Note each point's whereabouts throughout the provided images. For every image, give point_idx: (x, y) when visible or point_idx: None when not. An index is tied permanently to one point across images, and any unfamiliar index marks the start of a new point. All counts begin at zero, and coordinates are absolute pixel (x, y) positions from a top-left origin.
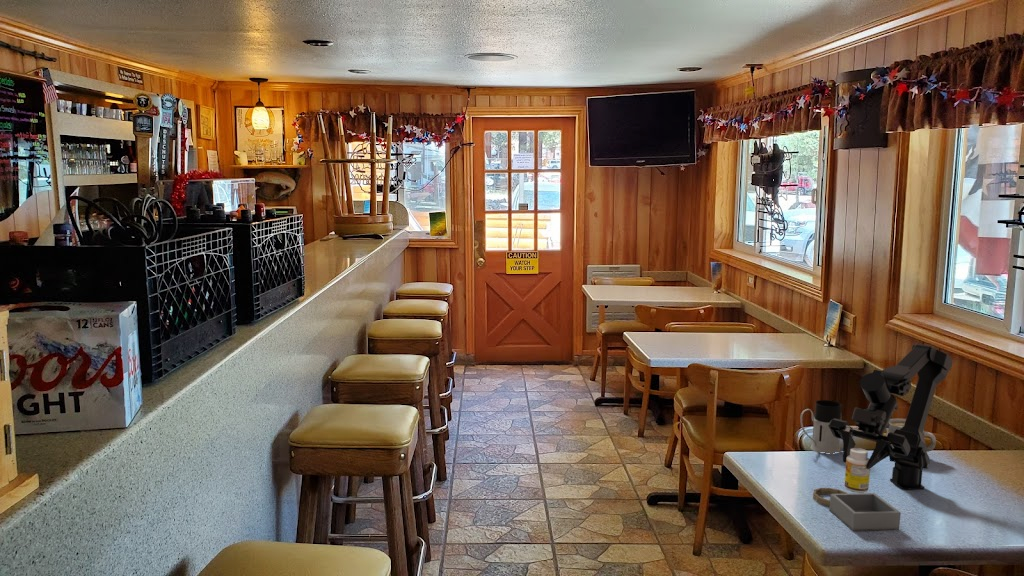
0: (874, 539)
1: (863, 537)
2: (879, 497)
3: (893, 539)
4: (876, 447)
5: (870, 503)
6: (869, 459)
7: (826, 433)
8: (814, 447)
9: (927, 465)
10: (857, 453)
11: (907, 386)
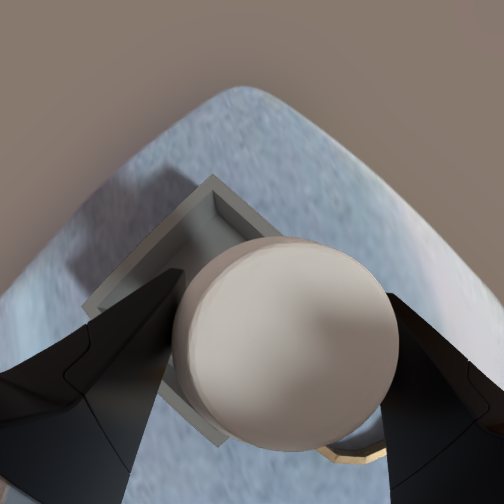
0: (152, 193)
1: (180, 184)
2: (184, 412)
3: (109, 232)
4: (55, 401)
5: None
6: (157, 304)
7: None
8: None
9: None
10: (280, 244)
11: None
